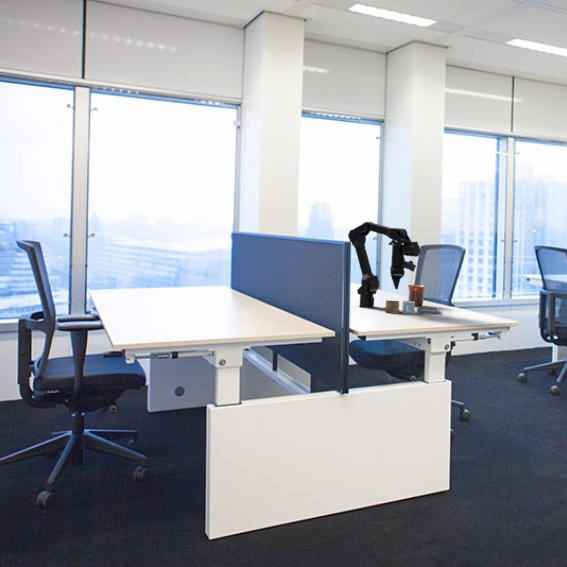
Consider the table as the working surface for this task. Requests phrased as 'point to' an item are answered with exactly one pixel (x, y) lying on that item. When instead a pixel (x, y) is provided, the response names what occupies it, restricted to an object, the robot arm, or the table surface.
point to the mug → (416, 294)
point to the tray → (427, 310)
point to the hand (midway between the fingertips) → (396, 288)
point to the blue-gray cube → (408, 307)
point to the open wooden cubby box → (392, 306)
